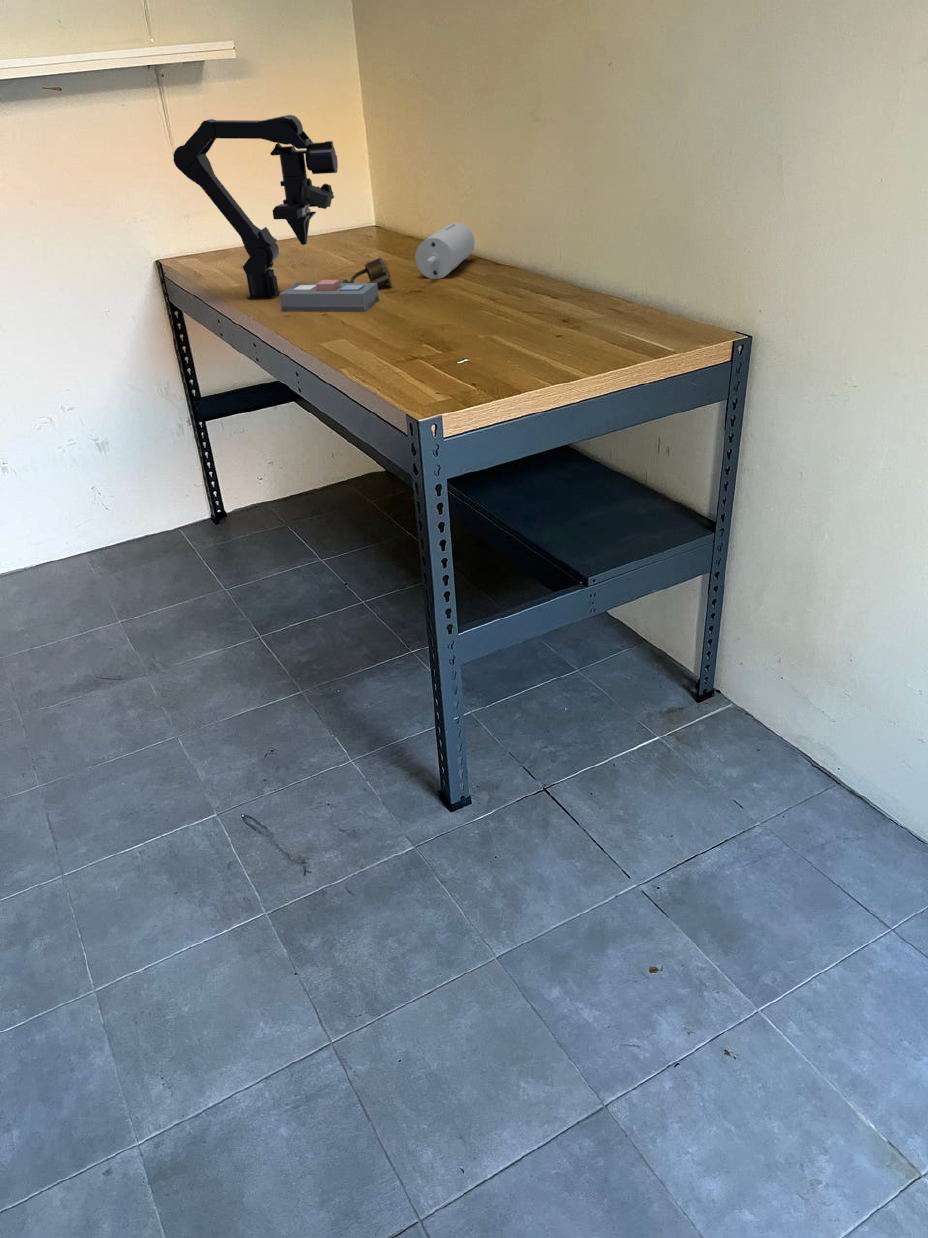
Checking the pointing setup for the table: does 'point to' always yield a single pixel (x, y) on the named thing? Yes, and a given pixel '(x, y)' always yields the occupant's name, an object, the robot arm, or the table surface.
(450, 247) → the motor
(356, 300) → the key panel
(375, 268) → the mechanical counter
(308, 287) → the white key
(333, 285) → the red key
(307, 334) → the table surface
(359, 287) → the blue key
